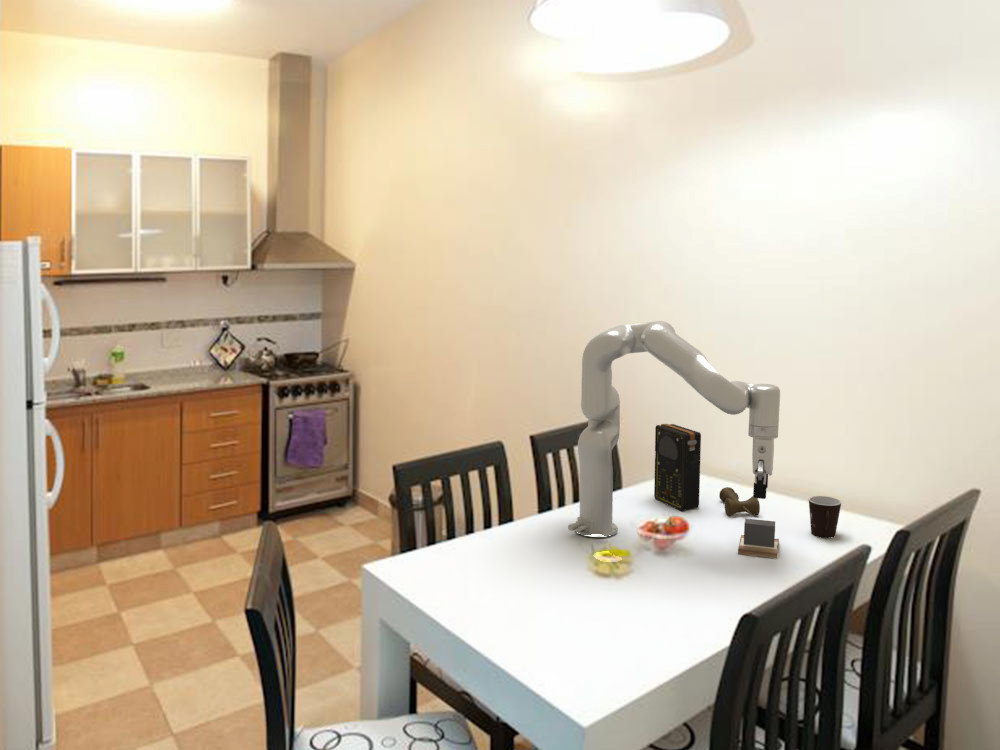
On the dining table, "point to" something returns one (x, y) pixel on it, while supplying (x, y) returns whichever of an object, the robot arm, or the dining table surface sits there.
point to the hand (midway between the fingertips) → (760, 492)
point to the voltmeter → (677, 466)
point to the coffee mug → (824, 515)
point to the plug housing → (759, 532)
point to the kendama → (738, 503)
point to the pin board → (758, 549)
